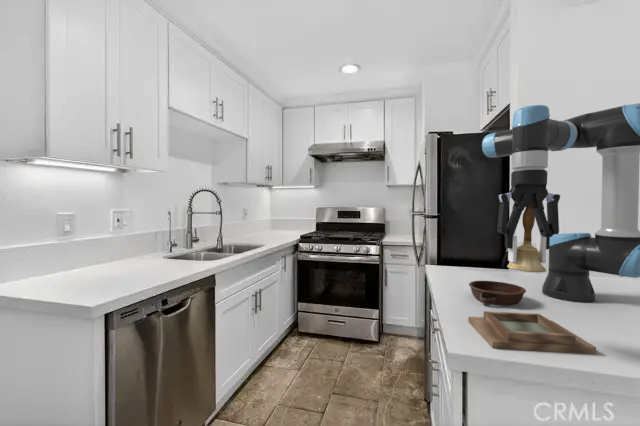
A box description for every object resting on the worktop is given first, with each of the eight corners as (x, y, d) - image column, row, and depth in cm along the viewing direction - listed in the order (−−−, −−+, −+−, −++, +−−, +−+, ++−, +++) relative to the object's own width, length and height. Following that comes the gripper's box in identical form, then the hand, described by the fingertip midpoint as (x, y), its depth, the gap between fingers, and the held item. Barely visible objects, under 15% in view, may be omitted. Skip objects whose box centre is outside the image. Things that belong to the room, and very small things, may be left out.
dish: (530, 298, 111) (531, 284, 111) (519, 314, 95) (519, 298, 95) (478, 289, 123) (478, 276, 123) (459, 302, 107) (460, 287, 106)
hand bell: (544, 268, 80) (546, 206, 79) (548, 274, 73) (550, 206, 72) (507, 264, 84) (508, 205, 84) (506, 270, 77) (508, 206, 76)
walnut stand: (551, 325, 85) (552, 313, 85) (596, 354, 70) (596, 338, 69) (468, 321, 88) (468, 309, 88) (492, 347, 72) (492, 333, 72)
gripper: (560, 171, 80) (557, 260, 81) (482, 171, 82) (480, 258, 83) (581, 168, 73) (577, 265, 73) (495, 168, 75) (492, 263, 76)
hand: (526, 261), depth 78 cm, fingers closed on hand bell, 6 cm apart
